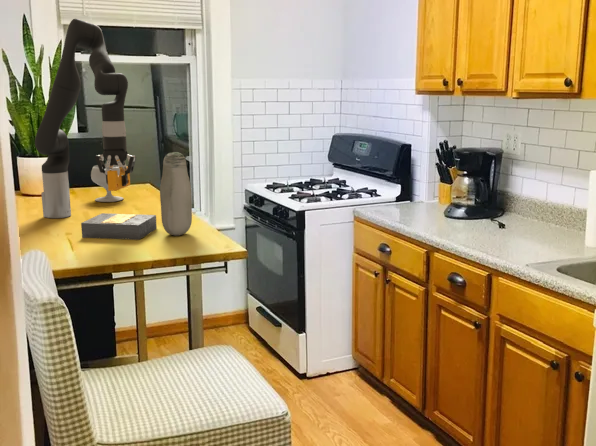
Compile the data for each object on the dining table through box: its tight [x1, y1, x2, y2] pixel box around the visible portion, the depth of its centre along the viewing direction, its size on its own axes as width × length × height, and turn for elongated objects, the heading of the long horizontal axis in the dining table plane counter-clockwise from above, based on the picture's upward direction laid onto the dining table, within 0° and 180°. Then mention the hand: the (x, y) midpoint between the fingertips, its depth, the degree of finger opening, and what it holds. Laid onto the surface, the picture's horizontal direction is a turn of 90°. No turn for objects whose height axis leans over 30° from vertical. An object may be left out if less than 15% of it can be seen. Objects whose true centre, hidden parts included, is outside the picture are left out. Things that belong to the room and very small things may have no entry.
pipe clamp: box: [107, 165, 131, 192], centre depth 217 cm, size 12×4×6 cm, turn 172°
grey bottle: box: [159, 151, 193, 236], centre depth 216 cm, size 10×10×28 cm
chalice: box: [90, 163, 125, 203], centre depth 279 cm, size 14×14×15 cm
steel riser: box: [80, 212, 158, 241], centre depth 220 cm, size 20×16×5 cm
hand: (117, 185), depth 217 cm, fingers closed on pipe clamp, 4 cm apart
